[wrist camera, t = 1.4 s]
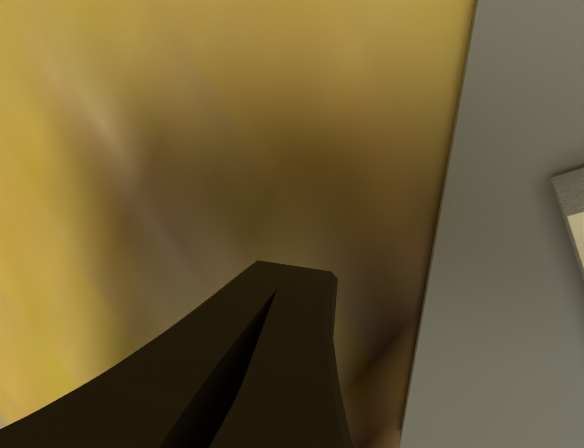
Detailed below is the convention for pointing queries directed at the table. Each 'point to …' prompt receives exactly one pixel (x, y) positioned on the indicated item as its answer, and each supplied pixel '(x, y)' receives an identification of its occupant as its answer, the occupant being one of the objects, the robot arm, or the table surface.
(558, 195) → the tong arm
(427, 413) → the mat
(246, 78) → the table surface
